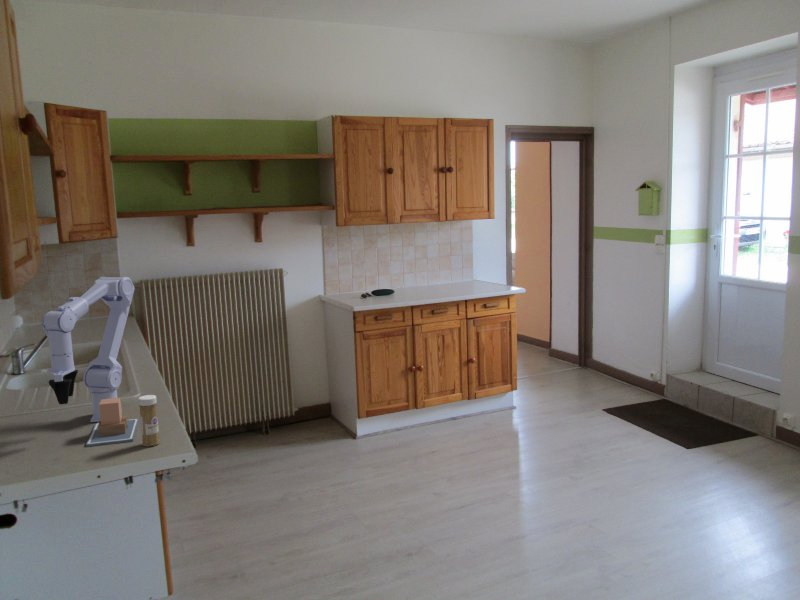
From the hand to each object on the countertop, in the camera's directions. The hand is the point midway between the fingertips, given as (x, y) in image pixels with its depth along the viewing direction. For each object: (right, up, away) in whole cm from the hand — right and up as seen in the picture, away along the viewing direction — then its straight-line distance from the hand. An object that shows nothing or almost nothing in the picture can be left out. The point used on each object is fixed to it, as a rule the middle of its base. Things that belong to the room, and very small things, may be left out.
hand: (66, 399), depth 187 cm
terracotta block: (+12, -6, +2) cm, 14 cm away
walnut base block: (+13, -10, +2) cm, 16 cm away
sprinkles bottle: (+27, -11, -7) cm, 30 cm away
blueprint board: (+13, -10, +2) cm, 16 cm away
